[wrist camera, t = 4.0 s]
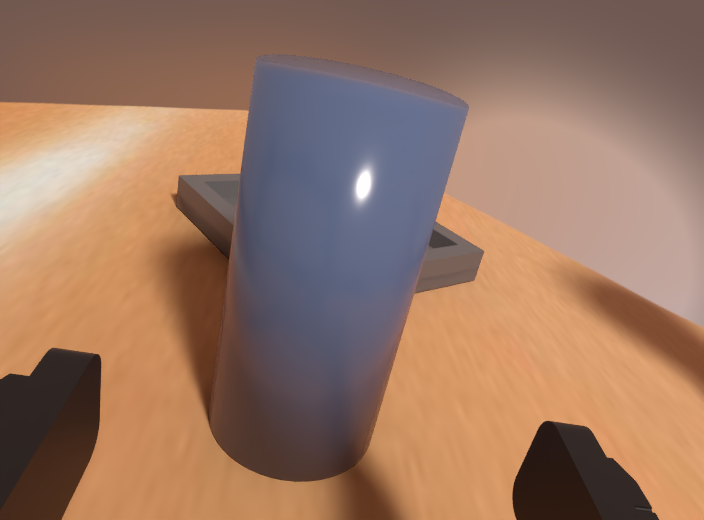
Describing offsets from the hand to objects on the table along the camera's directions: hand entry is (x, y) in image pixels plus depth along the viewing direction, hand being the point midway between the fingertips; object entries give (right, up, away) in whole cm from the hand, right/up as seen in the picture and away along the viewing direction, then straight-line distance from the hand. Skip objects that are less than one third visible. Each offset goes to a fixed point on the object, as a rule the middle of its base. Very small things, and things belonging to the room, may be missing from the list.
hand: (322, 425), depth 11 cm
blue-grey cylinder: (-1, -2, +9) cm, 9 cm away
